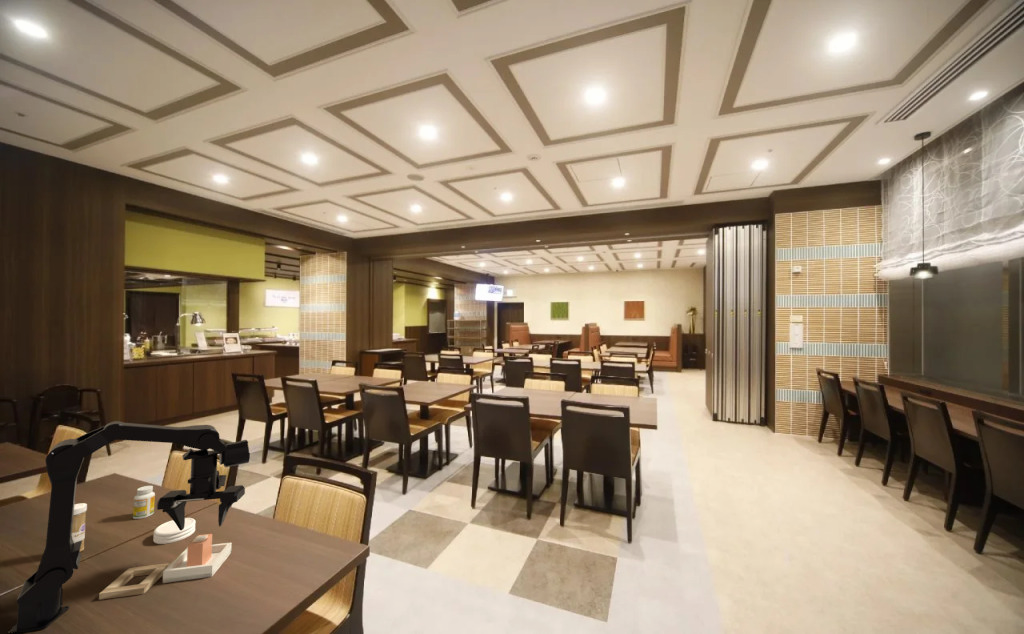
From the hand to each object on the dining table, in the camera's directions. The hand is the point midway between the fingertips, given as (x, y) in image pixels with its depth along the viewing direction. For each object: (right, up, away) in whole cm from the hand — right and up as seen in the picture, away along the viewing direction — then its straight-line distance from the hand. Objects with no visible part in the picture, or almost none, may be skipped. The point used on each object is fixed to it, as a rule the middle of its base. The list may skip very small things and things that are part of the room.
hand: (201, 527), depth 104 cm
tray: (0, -11, 0) cm, 11 cm away
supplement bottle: (-43, -11, +26) cm, 52 cm away
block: (0, -10, 0) cm, 10 cm away
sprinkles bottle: (-42, -10, +5) cm, 44 cm away
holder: (-11, -10, -7) cm, 17 cm away
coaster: (-21, -11, +15) cm, 28 cm away
